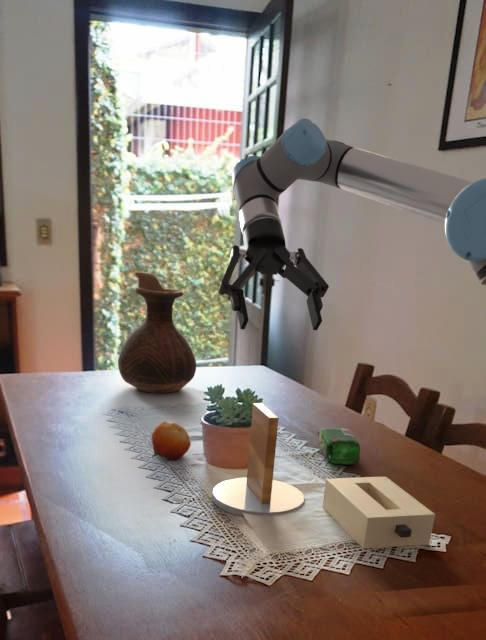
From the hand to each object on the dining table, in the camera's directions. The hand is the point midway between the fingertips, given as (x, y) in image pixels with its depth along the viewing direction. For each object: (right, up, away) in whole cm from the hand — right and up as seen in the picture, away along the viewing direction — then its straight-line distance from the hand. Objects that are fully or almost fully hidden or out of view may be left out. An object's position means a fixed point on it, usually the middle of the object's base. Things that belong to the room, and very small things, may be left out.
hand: (281, 325), depth 120 cm
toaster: (+14, -36, -10) cm, 39 cm away
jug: (-27, +1, +72) cm, 77 cm away
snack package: (+14, -22, +24) cm, 35 cm away
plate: (-4, -31, -1) cm, 31 cm away
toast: (-4, -30, -1) cm, 30 cm away
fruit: (-20, -22, +18) cm, 35 cm away
